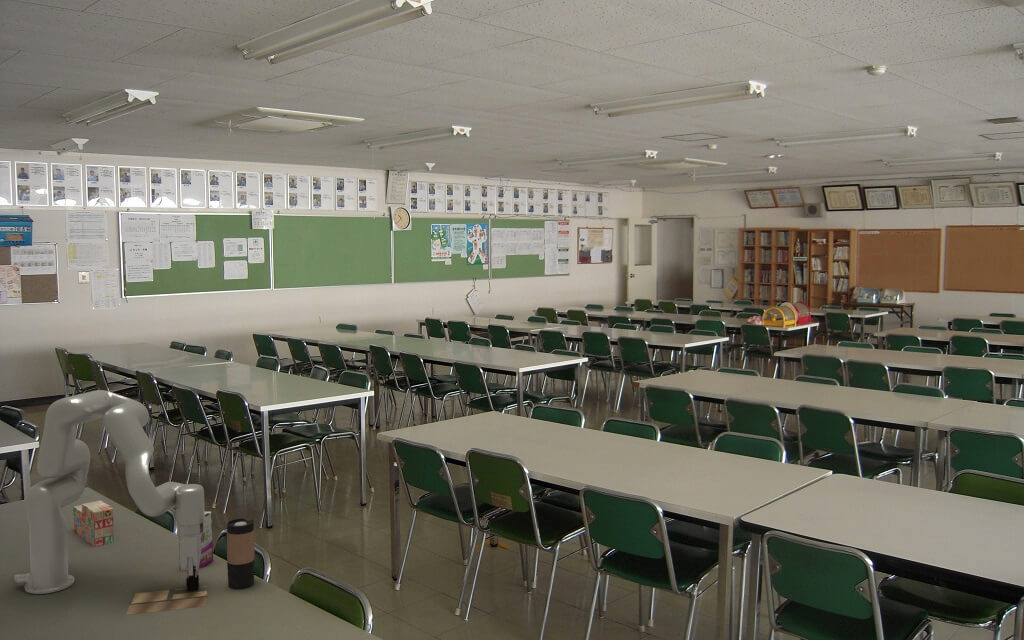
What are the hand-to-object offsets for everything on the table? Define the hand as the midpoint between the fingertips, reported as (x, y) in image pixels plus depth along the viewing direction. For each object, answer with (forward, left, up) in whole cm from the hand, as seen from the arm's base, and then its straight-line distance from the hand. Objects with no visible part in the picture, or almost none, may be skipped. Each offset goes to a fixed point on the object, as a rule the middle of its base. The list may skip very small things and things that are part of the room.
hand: (192, 589), depth 227 cm
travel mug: (+13, 0, -1) cm, 13 cm away
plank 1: (-11, -2, -1) cm, 11 cm away
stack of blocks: (-37, +59, -2) cm, 70 cm away
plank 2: (-1, -2, -1) cm, 2 cm away
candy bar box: (-1, +21, -1) cm, 21 cm away
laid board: (-6, -9, -1) cm, 11 cm away
